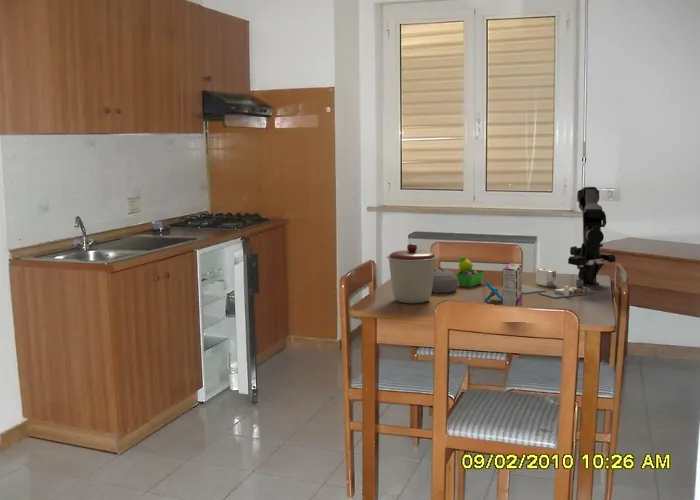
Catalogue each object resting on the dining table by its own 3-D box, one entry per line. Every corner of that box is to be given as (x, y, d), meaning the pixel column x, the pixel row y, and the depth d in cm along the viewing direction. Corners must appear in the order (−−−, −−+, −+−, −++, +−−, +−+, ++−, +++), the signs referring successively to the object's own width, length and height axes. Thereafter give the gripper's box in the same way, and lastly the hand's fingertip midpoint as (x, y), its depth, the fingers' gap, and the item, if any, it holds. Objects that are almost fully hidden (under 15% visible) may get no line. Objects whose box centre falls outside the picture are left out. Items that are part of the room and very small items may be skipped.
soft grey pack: (412, 285, 294) (426, 295, 275) (412, 265, 293) (426, 273, 274) (448, 284, 297) (464, 293, 278) (448, 263, 296) (464, 271, 276)
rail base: (578, 289, 281) (578, 279, 280) (595, 293, 273) (596, 283, 272) (538, 294, 273) (539, 283, 272) (555, 298, 265) (555, 287, 264)
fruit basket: (472, 287, 288) (472, 259, 286) (452, 285, 293) (452, 257, 291) (485, 283, 297) (485, 256, 295) (465, 281, 302) (466, 254, 300)
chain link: (542, 282, 296) (542, 268, 295) (557, 286, 288) (558, 271, 287) (534, 283, 295) (534, 268, 294) (549, 287, 286) (550, 272, 285)
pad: (523, 285, 290) (523, 284, 290) (545, 291, 278) (545, 290, 278) (503, 288, 286) (503, 286, 286) (524, 294, 274) (524, 292, 274)
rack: (580, 289, 278) (581, 278, 278) (590, 291, 273) (591, 280, 273) (554, 292, 273) (554, 281, 272) (563, 295, 268) (563, 283, 267)
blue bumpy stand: (506, 300, 255) (486, 279, 257) (494, 312, 256) (474, 291, 258) (507, 298, 266) (488, 278, 268) (495, 309, 267) (476, 289, 269)
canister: (397, 307, 254) (397, 248, 251) (380, 297, 271) (380, 241, 268) (445, 304, 259) (445, 245, 256) (425, 294, 276) (425, 239, 273)
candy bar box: (507, 310, 247) (507, 263, 244) (522, 311, 245) (523, 263, 243) (501, 318, 236) (502, 268, 234) (516, 319, 235) (517, 269, 232)
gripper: (595, 237, 287) (594, 276, 289) (558, 240, 279) (557, 280, 281) (617, 240, 277) (615, 280, 279) (579, 243, 269) (578, 285, 271)
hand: (591, 281), depth 278 cm, fingers closed
